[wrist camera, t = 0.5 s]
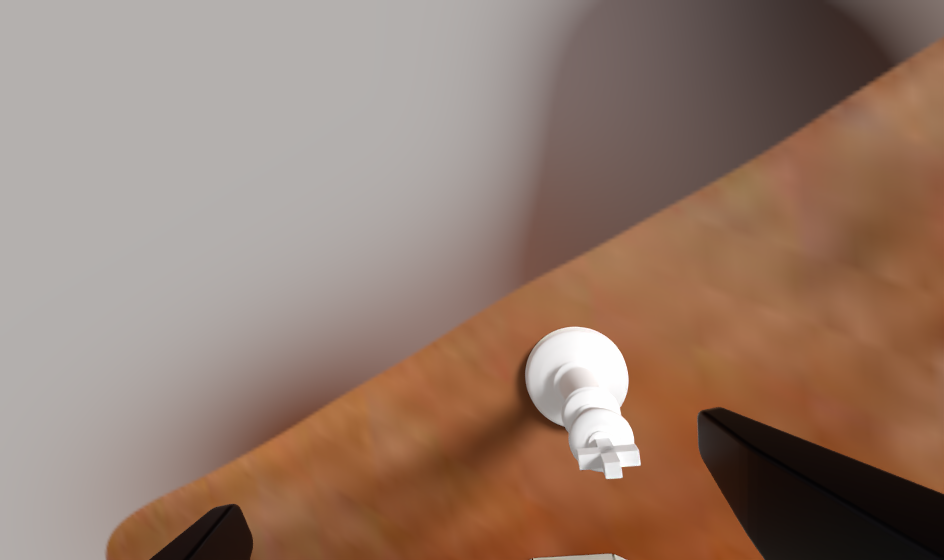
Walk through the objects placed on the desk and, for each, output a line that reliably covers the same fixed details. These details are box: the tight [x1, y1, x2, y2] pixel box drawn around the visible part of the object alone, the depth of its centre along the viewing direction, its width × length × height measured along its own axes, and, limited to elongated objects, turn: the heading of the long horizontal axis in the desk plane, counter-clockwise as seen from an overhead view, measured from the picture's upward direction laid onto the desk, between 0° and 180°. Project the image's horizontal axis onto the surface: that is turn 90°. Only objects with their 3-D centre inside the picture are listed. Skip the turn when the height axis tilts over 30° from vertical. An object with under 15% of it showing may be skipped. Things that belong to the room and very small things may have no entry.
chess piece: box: [525, 327, 641, 479], centre depth 17 cm, size 5×5×10 cm
